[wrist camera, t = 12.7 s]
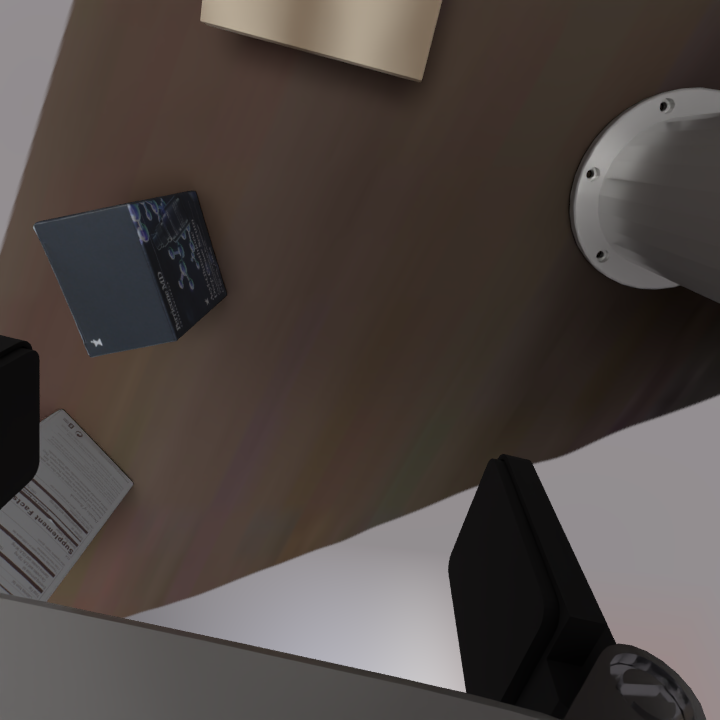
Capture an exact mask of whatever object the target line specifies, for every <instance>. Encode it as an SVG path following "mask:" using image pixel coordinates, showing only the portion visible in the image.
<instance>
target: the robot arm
mask: <svg viewBox="0 0 720 720" xmlns="http://www.w3.org/2000/svg"><path fill="white" fill-rule="evenodd" d="M661 103H663V105H664V107H663V110H662V111H660V104H661ZM588 170H591V172H592V175H591V176H590V177H589V178H587V177H586V174H587V172H588ZM569 213H570V220H571V228H572V232H573V235H574V237H575V240H576V243H577V246H578V247H579V249H580V250H581V252H582V254H583V255H584V257H585V258H586V260H587V261H588V262H589V263H590V264H591V265H592V266H593V267H594V268H595V269H596V270H598V271H599V272H601V273H602V274H604V275H605V276H607V277H608V278H610V279H612V280H614V281H616V282H618V283H621V284H623V285H627V286H631V287H634V288H638V289H655V290H656V289H664V288H672V287H676V286H680V285H681V286H683V287H685V288H687V289H690V290H692V291H694V292H696V293H698V294H700V295H703V296H705V297H707V298H709V299H711V300H713V301H715V302H718V303H720V90H714V89H708V88H702V87H701V88H683V89H677V90H672V91H667V92H663V93H660V94H657V95H654V96H652V97H649V98H646V99H644V100H642V101H640V102H638V103H637V104H635V105H633V106H631V107H630V108H628V109H626V110H625V111H623V112H622V113H621V114H620V115H618V116H617V117H616V118H615V119H614V120H612V121H611V122H610V123H609V124H608V125H607V126H606V127H605V128H604V129H603V130H602V131H601V133H600V134H599V135H598V136H597V137H596V138H595V139H594V141H593V142H592V144H591V145H590V147H589V149H588V150H587V152H586V153H585V155H584V156H583V158H582V161H581V163H580V165H579V168H578V170H577V172H576V174H575V178H574V182H573V186H572V190H571V194H570V211H569ZM599 251H601V255H600V256H599V257H596V255H597V253H598V252H599ZM39 463H40V397H39V355H38V353H37V352H36V351H34V350H32V347H31V344H30V343H28V342H27V341H23V340H19V339H14V338H10V337H6V336H2V335H0V510H1V509H2V508H3V507H4V506H5V505H6V504H7V503H8V502H9V501H10V500H11V499H12V498H13V497H14V496H15V495H17V494H18V493H19V492H20V491H21V490H22V489H23V488H24V487H25V486H26V485H27V484H28V483H29V482H30V481H31V480H32V479H33V478H34V476H35V475H36V473H37V471H38V468H39ZM448 573H449V579H450V587H451V594H452V600H453V607H454V614H455V620H456V627H457V634H458V640H459V647H460V654H461V661H462V667H463V674H464V681H465V687H466V693H464V692H459V691H455V690H450V689H446V688H442V687H437V686H433V685H428V684H424V683H419V682H415V681H411V680H407V679H402V678H398V677H394V676H389V675H385V674H380V673H376V672H371V671H366V670H362V669H357V668H353V667H348V666H343V665H338V664H334V663H330V662H325V661H321V660H316V659H311V658H307V657H302V656H298V655H293V654H288V653H284V652H279V651H275V650H270V649H265V648H261V647H256V646H252V645H247V644H242V643H237V642H232V641H228V640H223V639H219V638H214V637H209V636H205V635H200V634H195V633H191V632H185V631H181V630H176V629H172V628H167V627H162V626H157V625H153V624H148V623H144V622H139V621H134V620H129V619H124V618H120V617H115V616H110V615H105V614H101V613H96V612H91V611H86V610H82V609H77V608H72V607H67V606H63V605H58V604H53V603H48V602H44V601H39V600H34V599H29V598H24V597H19V596H14V595H9V594H5V593H0V720H706V717H705V715H704V712H703V709H702V706H701V704H700V702H699V701H698V699H697V698H696V696H695V694H694V693H693V691H692V690H691V688H690V687H689V686H688V685H687V684H686V683H685V682H684V680H683V679H682V678H681V677H680V676H679V675H678V674H677V673H676V672H675V671H674V670H673V669H671V668H670V667H669V666H667V664H665V663H664V662H663V661H662V660H660V659H658V658H656V657H655V656H653V655H652V654H650V653H648V652H647V651H644V650H642V649H639V648H637V647H634V646H632V645H625V644H616V642H615V640H614V638H613V636H612V634H611V632H610V629H609V628H608V625H607V623H606V621H605V618H604V616H603V614H602V612H601V610H600V608H599V606H598V603H597V601H596V599H595V597H594V595H593V593H592V591H591V588H590V586H589V584H588V582H587V580H586V578H585V576H584V573H583V571H582V570H581V567H580V565H579V563H578V561H577V558H576V556H575V554H574V552H573V550H572V548H571V546H570V543H569V541H568V539H567V537H566V535H565V533H564V531H563V529H562V526H561V524H560V522H559V520H558V518H557V516H556V513H555V511H554V509H553V507H552V505H551V503H550V501H549V498H548V496H547V494H546V492H545V490H544V488H543V486H542V483H541V481H540V479H539V477H538V475H537V473H536V471H535V468H534V466H533V464H532V463H531V461H530V460H527V459H522V458H518V457H514V456H510V455H505V454H502V455H500V457H499V458H498V460H497V459H491V460H490V461H489V462H488V464H487V467H486V469H485V471H484V474H483V476H482V479H481V481H480V484H479V486H478V489H477V491H476V494H475V496H474V499H473V501H472V504H471V506H470V508H469V511H468V514H467V516H466V518H465V521H464V523H463V526H462V528H461V531H460V533H459V536H458V538H457V541H456V543H455V546H454V549H453V551H452V553H451V556H450V560H449V566H448Z"/></svg>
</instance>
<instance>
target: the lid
mask: <svg viewBox="0 0 720 720" xmlns="http://www.w3.org/2000/svg"><path fill="white" fill-rule="evenodd" d="M441 3H442V0H202V9H201V19H200V21H201V22H203V23H204V24H206V25H208V26H212V27H215V28H219V29H223V30H226V31H230V32H234V33H238V34H241V35H245V36H249V37H252V38H256V39H260V40H264V41H267V42H271V43H275V44H278V45H282V46H286V47H290V48H293V49H297V50H301V51H305V52H308V53H312V54H316V55H319V56H323V57H327V58H331V59H334V60H338V61H342V62H345V63H349V64H353V65H357V66H360V67H364V68H368V69H371V70H375V71H379V72H383V73H386V74H390V75H394V76H397V77H401V78H405V79H409V80H412V81H416V82H420V83H421V81H422V78H423V74H424V70H425V66H426V62H427V58H428V54H429V50H430V46H431V42H432V38H433V34H434V30H435V26H436V22H437V19H438V15H439V11H440V7H441Z"/></svg>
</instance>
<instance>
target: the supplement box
mask: <svg viewBox="0 0 720 720" xmlns="http://www.w3.org/2000/svg"><path fill="white" fill-rule="evenodd" d="M132 486H133V482H132V481H131V480H130V479H129V478H128V477H127V476H126V475H125V474H124V473H123V472H122V470H121V469H120V468H119V467H118V466H117V465H116V464H115V463H114V462H113V461H112V460H111V459H110V458H109V457H108V456H107V455H106V454H105V453H104V452H103V451H102V450H101V448H100V447H99V446H98V445H97V444H96V443H95V442H94V441H93V440H92V439H91V438H90V437H89V436H88V435H87V434H86V433H85V432H84V431H83V430H82V429H81V428H80V427H79V425H78V424H77V423H76V422H75V421H74V420H73V419H72V418H71V417H70V416H69V415H68V414H67V413H66V412H65V411H64V410H62V409H61V410H58V411H57V412H55V413H53V414H52V415H50V416H49V417H47V418H46V419H44V420H43V421H41V422H40V463H39V468H38V471H37V473H36V475H35V476H34V478H33V479H32V480H31V481H30V482H29V483H28V484H27V485H26V486H25V487H24V488H23V489H22V490H21V491H20V492H19V493H18V494H17V495H15V496H14V497H13V498H12V499H11V500H10V501H9V502H8V503H7V504H6V505H5V506H4V507H3V508H2V509H1V510H0V593H5V594H9V595H14V596H19V597H24V598H29V599H34V600H39V601H44V602H47V600H48V599H49V598H50V596H51V595H52V593H53V592H54V591H55V590H56V588H57V587H58V585H59V584H60V583H61V581H62V580H63V579H64V577H65V576H66V575H67V573H68V572H69V571H70V569H71V568H72V567H73V565H74V564H75V563H76V561H77V560H78V559H79V557H80V556H81V554H82V553H83V552H84V550H85V549H86V548H87V546H88V545H89V544H90V542H91V541H92V540H93V538H94V537H95V536H96V534H97V533H98V532H99V530H100V529H101V528H102V526H103V525H104V524H105V522H106V521H107V520H108V518H109V517H110V515H111V514H112V513H113V511H114V510H115V509H116V507H117V506H118V505H119V503H120V502H121V501H122V499H123V498H124V497H125V495H126V494H127V493H128V491H129V490H130V488H131V487H132Z"/></svg>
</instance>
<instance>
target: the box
mask: <svg viewBox="0 0 720 720" xmlns="http://www.w3.org/2000/svg"><path fill="white" fill-rule="evenodd" d="M33 229H34V231H35V232H36V234H37V236H38V238H39V240H40V242H41V244H42V246H43V248H44V251H45V253H46V255H47V257H48V259H49V262H50V264H51V266H52V269H53V271H54V273H55V275H56V278H57V280H58V282H59V284H60V287H61V289H62V292H63V294H64V296H65V298H66V301H67V303H68V306H69V308H70V310H71V313H72V315H73V318H74V320H75V322H76V325H77V327H78V330H79V332H80V335H81V337H82V339H83V342H84V345H85V347H86V350H87V352H88V354H89V356H90V357H95V356H100V355H105V354H110V353H115V352H121V351H126V350H131V349H136V348H142V347H147V346H153V345H158V344H163V343H168V342H173V341H177V340H178V339H179V338H180V337H181V336H183V335H184V334H185V333H186V332H187V331H188V330H189V329H190V328H191V327H192V326H194V325H195V324H196V323H197V322H198V321H199V320H200V319H201V318H202V317H203V316H204V315H206V314H207V313H208V312H209V311H210V310H211V309H212V308H214V307H215V306H216V305H217V304H218V303H219V302H220V301H221V300H222V299H223V298H225V297H226V295H227V293H226V290H225V287H224V284H223V281H222V277H221V274H220V271H219V267H218V264H217V261H216V258H215V255H214V252H213V248H212V245H211V241H210V238H209V235H208V232H207V228H206V225H205V222H204V219H203V214H202V211H201V208H200V205H199V201H198V198H197V194H196V192H195V191H187V192H182V193H177V194H172V195H167V196H162V197H156V198H151V199H146V200H141V201H135V202H130V203H125V204H120V205H116V206H111V207H106V208H101V209H96V210H92V211H87V212H82V213H77V214H73V215H68V216H63V217H58V218H53V219H49V220H43V221H39V222H37V223H35V224H34V226H33Z"/></svg>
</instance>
